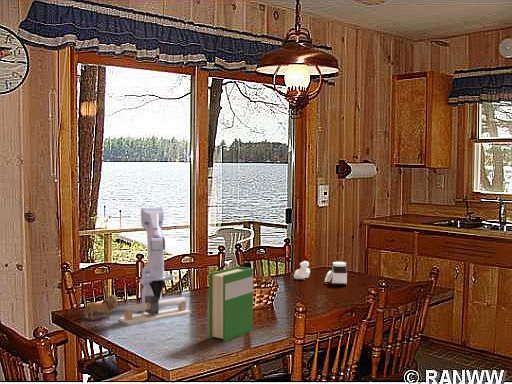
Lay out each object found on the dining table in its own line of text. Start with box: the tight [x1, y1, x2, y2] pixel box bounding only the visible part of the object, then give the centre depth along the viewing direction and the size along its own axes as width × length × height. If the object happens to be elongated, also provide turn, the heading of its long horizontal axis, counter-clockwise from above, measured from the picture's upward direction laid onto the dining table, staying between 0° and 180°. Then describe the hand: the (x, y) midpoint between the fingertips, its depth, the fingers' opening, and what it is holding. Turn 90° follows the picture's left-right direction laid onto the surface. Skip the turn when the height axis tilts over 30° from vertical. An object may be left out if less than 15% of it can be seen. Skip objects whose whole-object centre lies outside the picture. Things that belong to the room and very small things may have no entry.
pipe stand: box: [119, 296, 192, 325], centre depth 251 cm, size 8×29×6 cm, turn 128°
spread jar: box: [324, 261, 348, 286], centre depth 319 cm, size 12×11×12 cm
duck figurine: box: [293, 260, 311, 280], centre depth 333 cm, size 12×8×11 cm
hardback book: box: [208, 266, 254, 342], centre depth 227 cm, size 18×7×24 cm, turn 146°
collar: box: [144, 295, 159, 315], centre depth 250 cm, size 6×3×7 cm, turn 38°
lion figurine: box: [81, 294, 118, 320], centre depth 249 cm, size 15×5×9 cm, turn 117°
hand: (157, 298), depth 251 cm, fingers closed
